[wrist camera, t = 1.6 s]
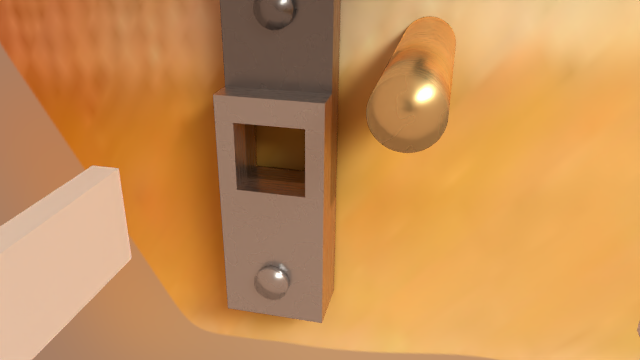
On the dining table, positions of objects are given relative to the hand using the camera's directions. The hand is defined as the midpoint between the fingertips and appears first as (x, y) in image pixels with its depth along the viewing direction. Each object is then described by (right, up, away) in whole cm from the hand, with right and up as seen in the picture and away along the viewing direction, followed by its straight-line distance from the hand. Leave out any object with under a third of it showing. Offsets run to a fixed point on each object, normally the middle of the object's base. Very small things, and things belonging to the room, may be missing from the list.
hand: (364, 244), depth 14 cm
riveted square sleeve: (-3, +4, +26) cm, 26 cm away
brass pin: (+5, +10, +21) cm, 24 cm away
